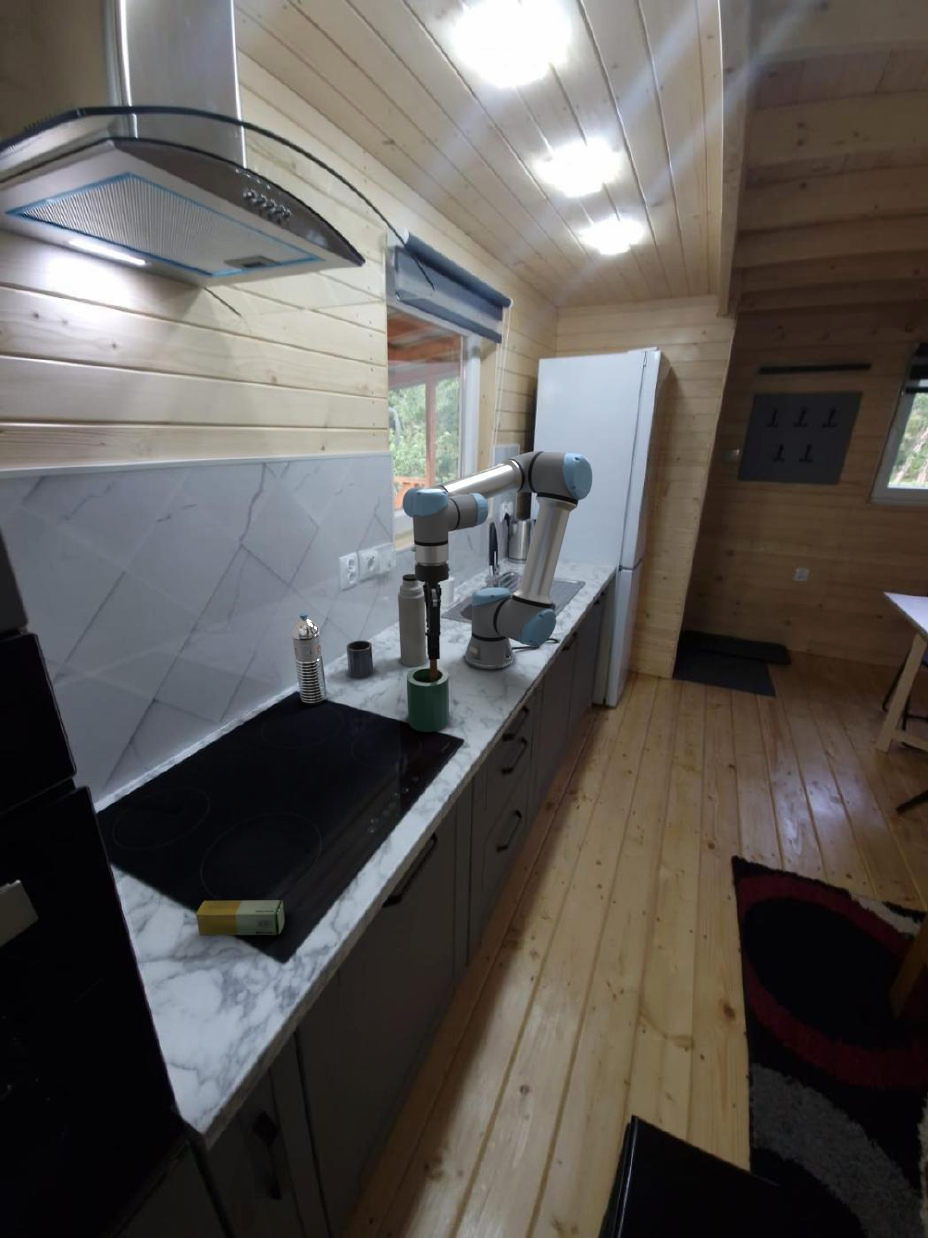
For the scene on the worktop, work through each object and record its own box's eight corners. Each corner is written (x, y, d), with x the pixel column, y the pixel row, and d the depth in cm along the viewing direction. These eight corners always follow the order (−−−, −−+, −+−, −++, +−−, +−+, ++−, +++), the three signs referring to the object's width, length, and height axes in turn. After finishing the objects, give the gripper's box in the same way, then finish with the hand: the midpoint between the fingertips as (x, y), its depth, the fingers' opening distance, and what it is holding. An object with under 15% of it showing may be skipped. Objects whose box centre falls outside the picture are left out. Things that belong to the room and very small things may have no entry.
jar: (446, 708, 131) (445, 664, 126) (450, 730, 122) (450, 684, 117) (407, 711, 130) (405, 667, 125) (409, 733, 120) (407, 687, 115)
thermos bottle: (398, 656, 159) (394, 573, 148) (422, 653, 161) (420, 570, 150) (403, 667, 152) (399, 580, 141) (428, 664, 154) (427, 578, 144)
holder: (373, 666, 153) (371, 639, 149) (373, 677, 146) (371, 650, 142) (349, 667, 152) (347, 641, 148) (348, 679, 145) (345, 651, 141)
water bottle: (319, 708, 131) (309, 620, 121) (296, 705, 132) (283, 618, 122) (331, 694, 137) (322, 610, 127) (308, 692, 138) (297, 608, 128)
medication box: (286, 920, 76) (284, 899, 75) (280, 935, 73) (278, 914, 72) (206, 920, 75) (203, 899, 74) (197, 936, 73) (194, 915, 71)
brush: (440, 706, 126) (439, 616, 117) (442, 714, 123) (440, 622, 114) (426, 707, 126) (424, 617, 116) (428, 715, 123) (425, 623, 113)
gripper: (412, 553, 116) (416, 644, 125) (416, 571, 102) (420, 672, 111) (444, 552, 117) (445, 642, 126) (452, 570, 103) (453, 670, 112)
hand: (433, 656), depth 119 cm, fingers closed on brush, 2 cm apart
